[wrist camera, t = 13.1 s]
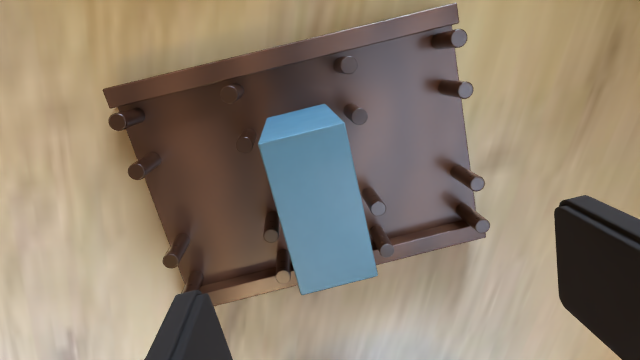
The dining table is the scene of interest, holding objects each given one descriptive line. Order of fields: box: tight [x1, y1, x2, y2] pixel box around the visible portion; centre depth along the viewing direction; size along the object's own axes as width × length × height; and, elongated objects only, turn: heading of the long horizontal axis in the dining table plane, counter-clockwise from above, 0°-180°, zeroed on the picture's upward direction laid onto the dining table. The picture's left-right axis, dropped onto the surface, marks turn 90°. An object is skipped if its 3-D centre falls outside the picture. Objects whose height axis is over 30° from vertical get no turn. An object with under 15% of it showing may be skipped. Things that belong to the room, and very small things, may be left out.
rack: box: [103, 3, 490, 306], centre depth 27 cm, size 22×16×4 cm
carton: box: [258, 104, 378, 295], centre depth 23 cm, size 8×4×9 cm, turn 13°
